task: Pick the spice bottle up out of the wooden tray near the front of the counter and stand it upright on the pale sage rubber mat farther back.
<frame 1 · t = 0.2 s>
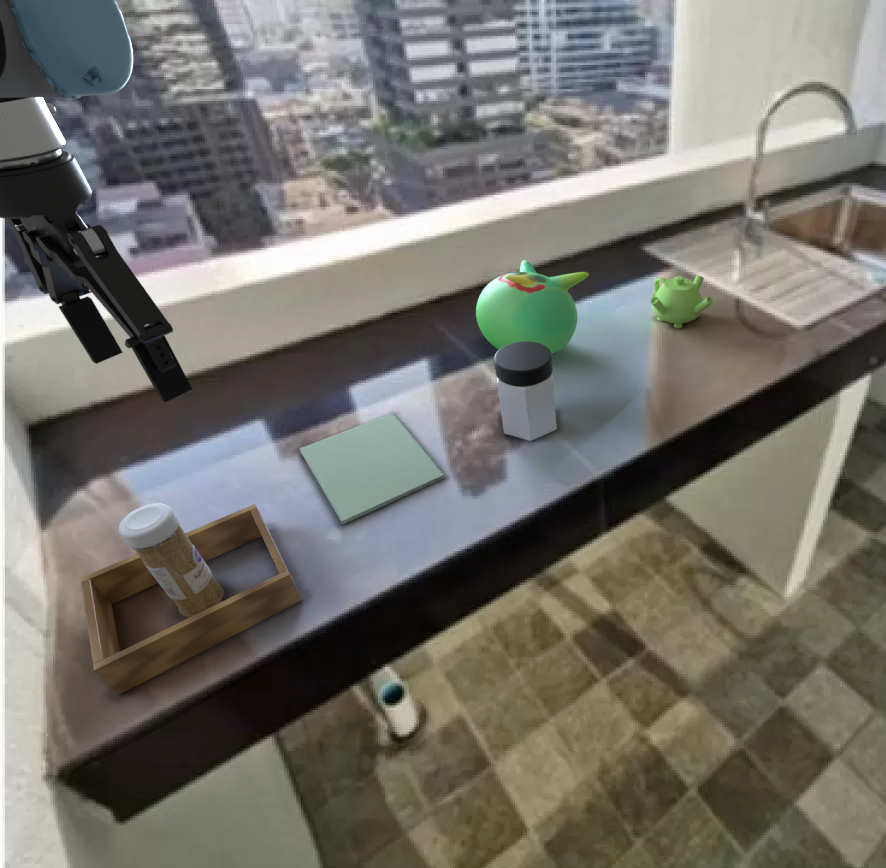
hand: (141, 375, 63), 22 cm above the worktop, tool pointing down, fingers open, 13 cm apart
toy bird: (532, 349, 109), on the worktop
wooden tray: (202, 601, 67), on the worktop
mat: (370, 464, 85), on the worktop
spice bottle: (203, 602, 67), resting in wooden tray
teapot: (679, 320, 117), on the worktop
jar: (530, 424, 92), on the worktop
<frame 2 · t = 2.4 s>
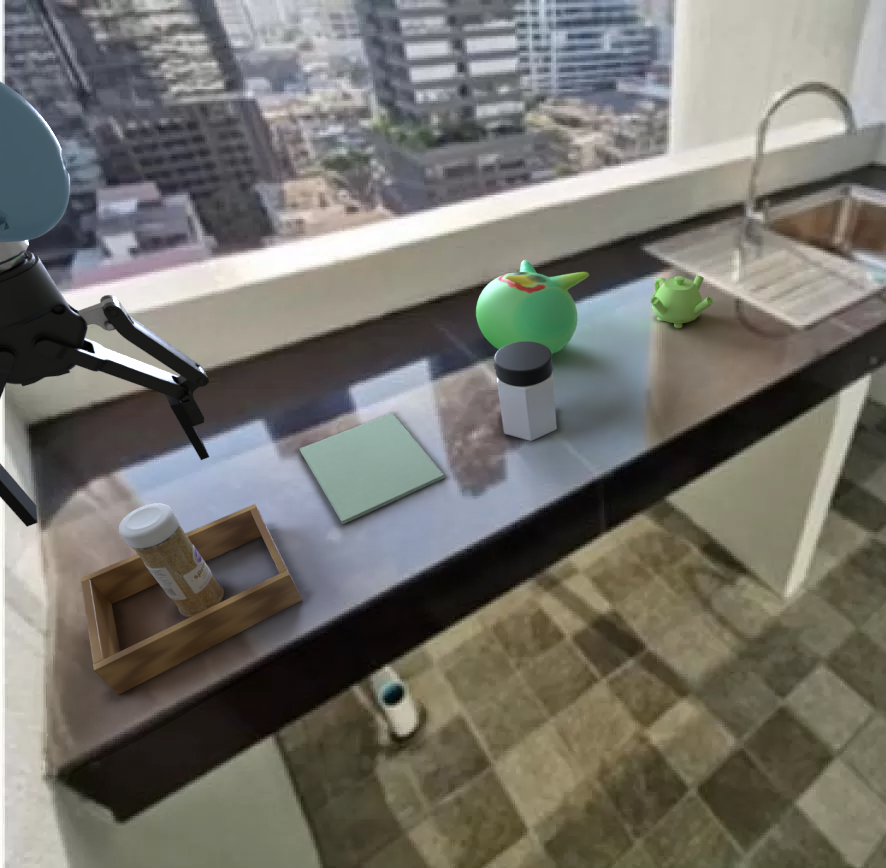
hand: (122, 482, 56), 18 cm above the worktop, tool pointing down, fingers open, 13 cm apart
nothing on the worktop moved.
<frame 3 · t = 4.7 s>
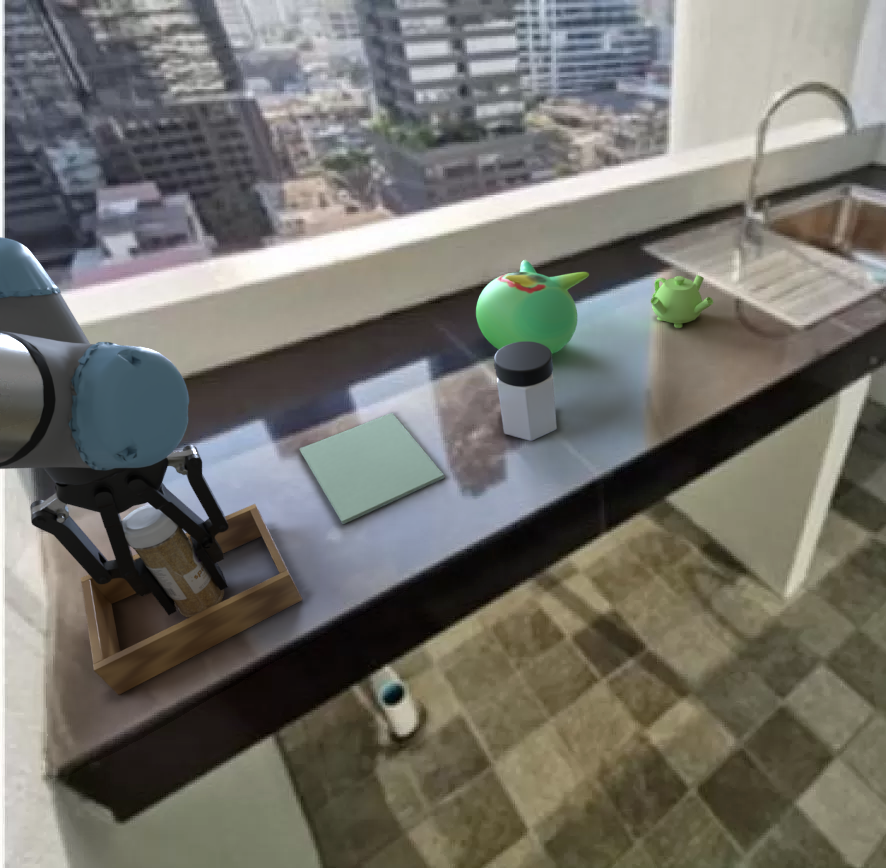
hand: (196, 592, 66), 2 cm above the worktop, tool pointing down, fingers closed on spice bottle, 4 cm apart
spice bottle: (203, 602, 67), resting in wooden tray, touching gripper
everything else where it was.
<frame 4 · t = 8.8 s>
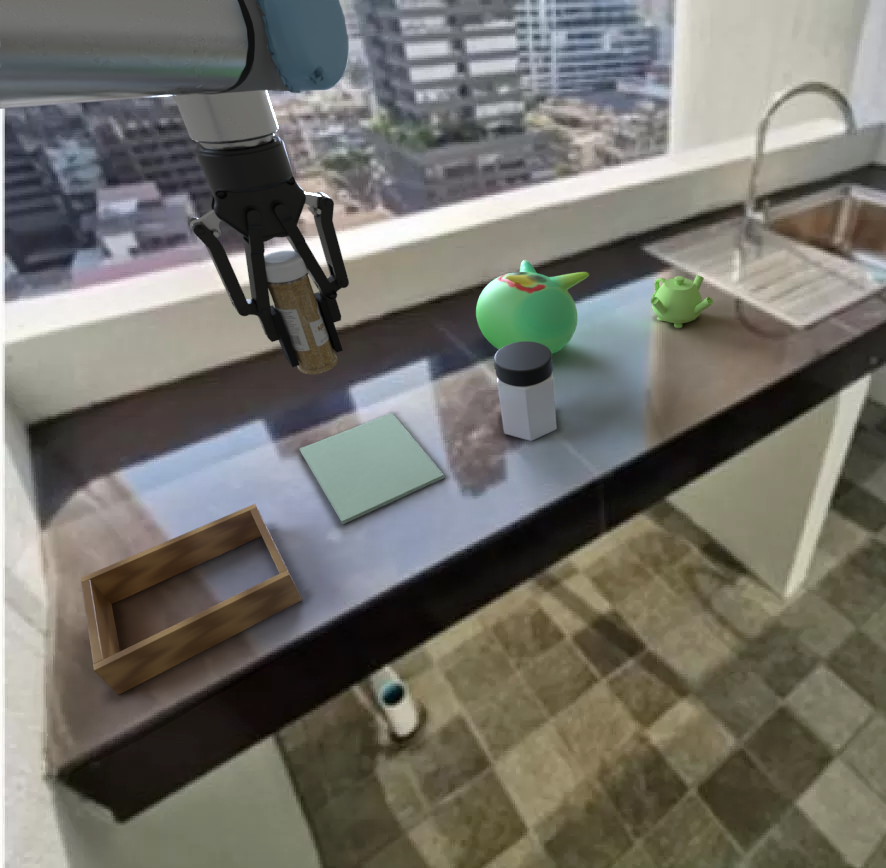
hand: (314, 353, 71), 19 cm above the worktop, tool pointing down, fingers closed on spice bottle, 4 cm apart
spice bottle: (318, 367, 72), point 18 cm above the worktop, touching gripper
everything else where it was.
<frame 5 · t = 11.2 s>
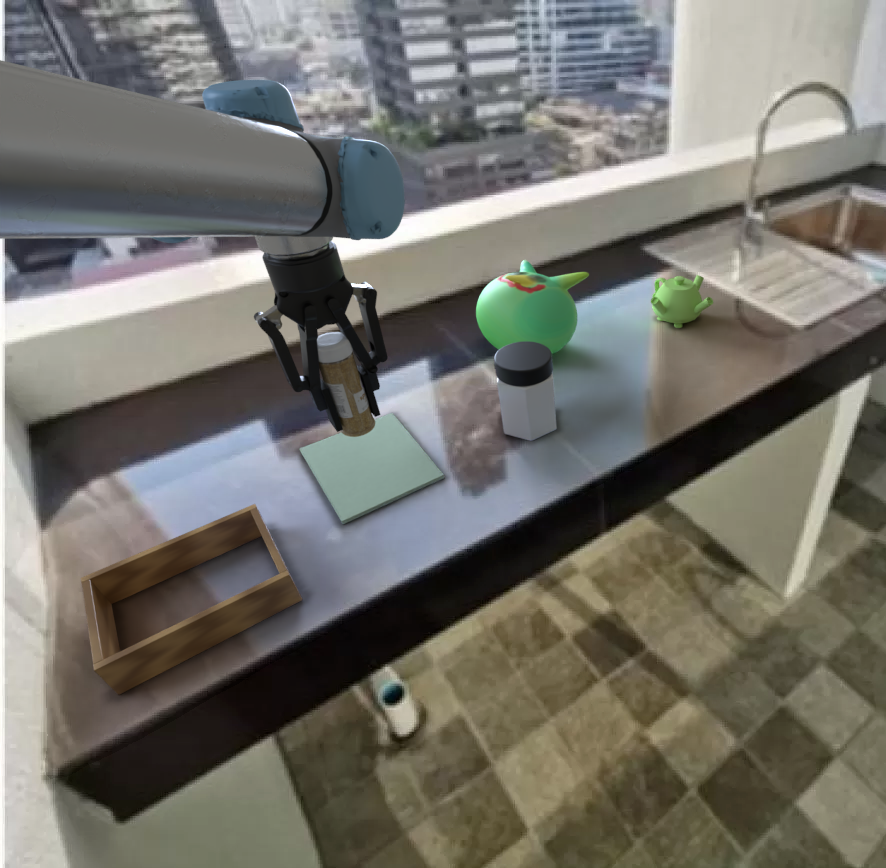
hand: (355, 418, 80), 8 cm above the worktop, tool pointing down, fingers closed on spice bottle, 4 cm apart
spice bottle: (358, 428, 81), point 6 cm above the worktop, touching gripper
everything else where it was.
when the fingers open (2 cm above the worktop, at t = 12.9 s): spice bottle stays where it is, resting on mat.
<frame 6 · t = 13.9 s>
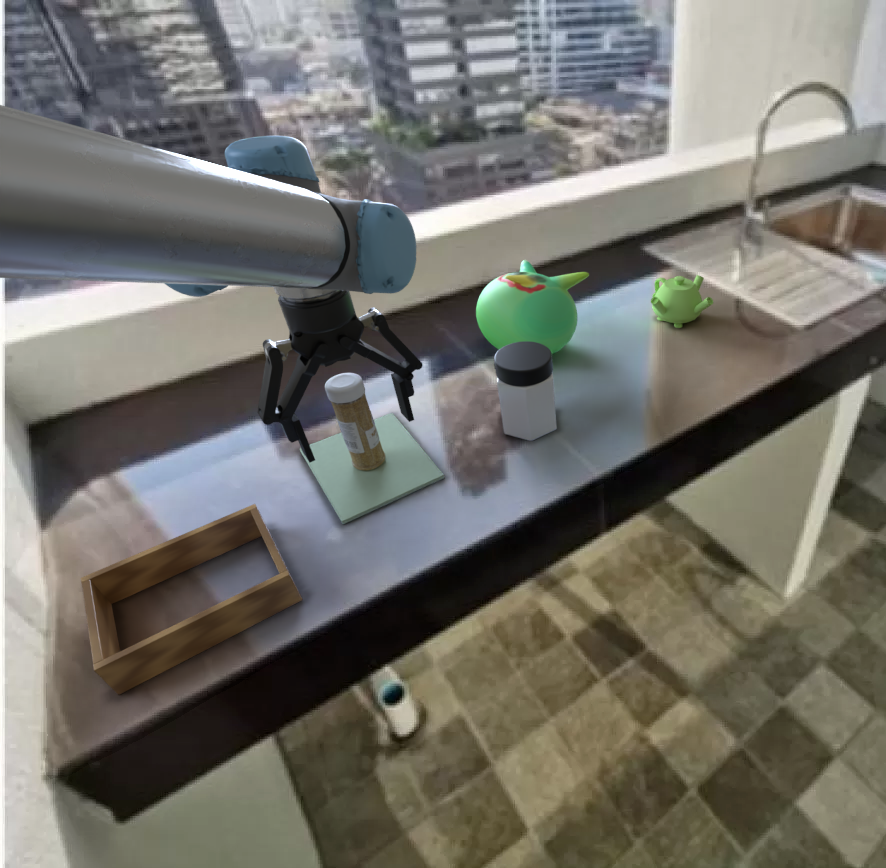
hand: (360, 435, 81), 5 cm above the worktop, tool pointing down, fingers open, 13 cm apart
spice bottle: (369, 462, 85), resting on mat
everything else where it was.
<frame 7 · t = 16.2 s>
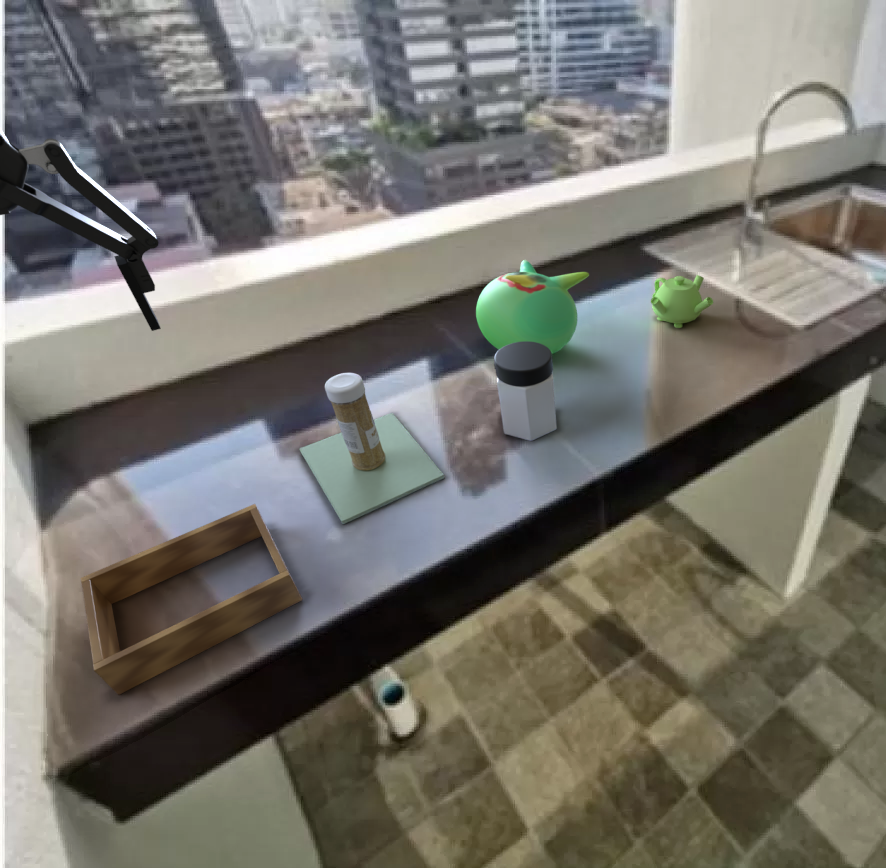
hand: (69, 347, 55), 28 cm above the worktop, tool pointing down, fingers open, 13 cm apart
nothing on the worktop moved.
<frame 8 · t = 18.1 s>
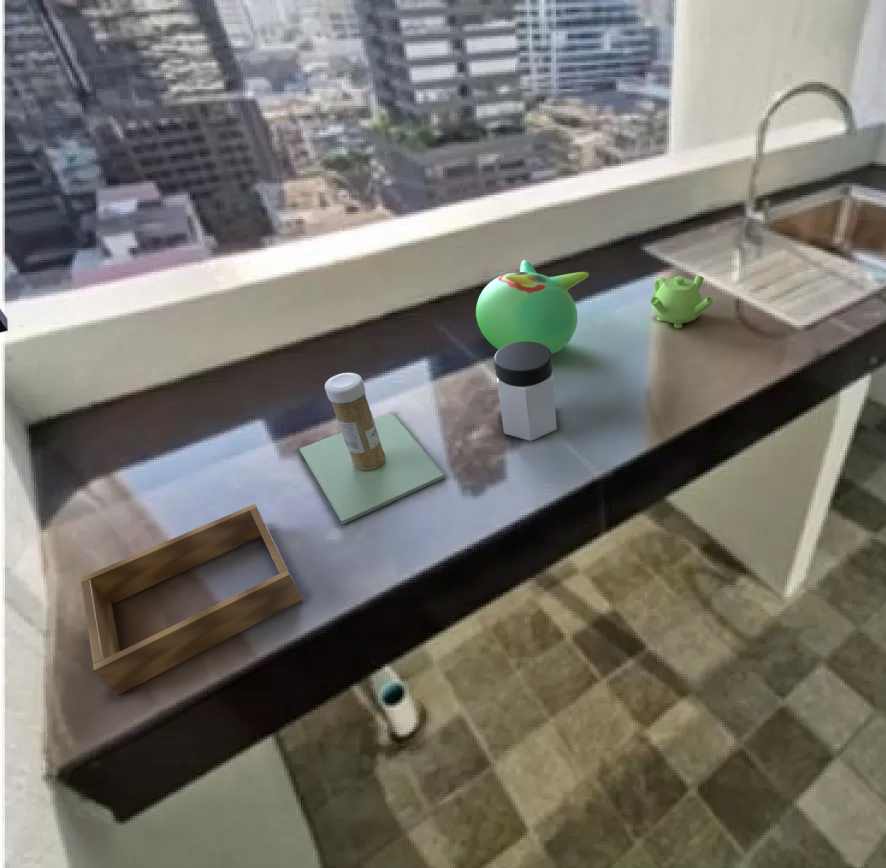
nothing on the worktop moved.
at the end: spice bottle inside the target area on the mat (0.0 cm from its centre), point 0.4 cm above the mat's base; spice bottle tilted 0°; spice bottle touching mat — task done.
